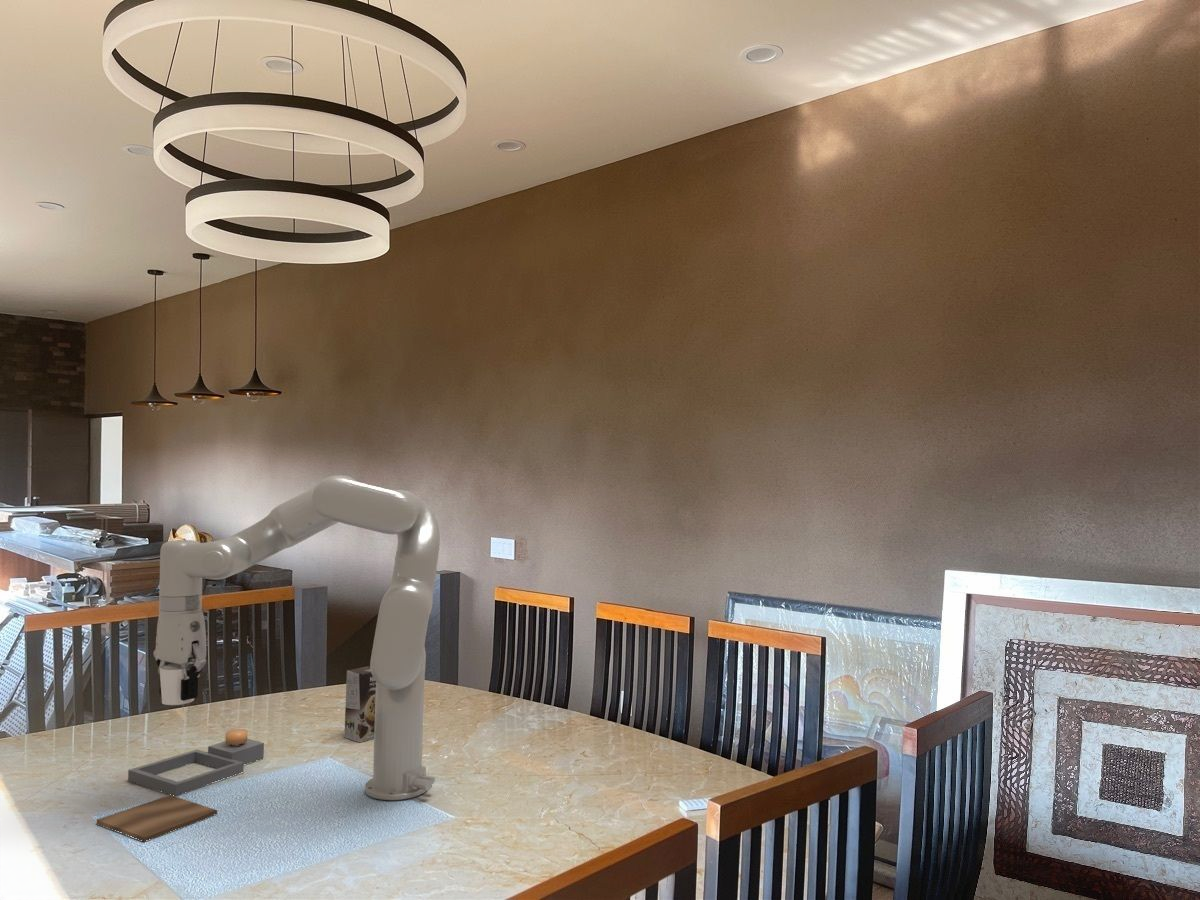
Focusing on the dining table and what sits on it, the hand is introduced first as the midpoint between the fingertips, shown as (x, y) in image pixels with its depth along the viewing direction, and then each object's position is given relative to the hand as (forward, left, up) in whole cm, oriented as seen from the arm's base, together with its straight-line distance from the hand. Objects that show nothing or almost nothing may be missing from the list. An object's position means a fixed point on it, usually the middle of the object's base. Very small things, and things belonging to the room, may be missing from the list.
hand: (178, 695), depth 166 cm
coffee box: (-4, -47, -20) cm, 51 cm away
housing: (+7, -11, -19) cm, 23 cm away
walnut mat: (-8, +9, -19) cm, 23 cm away
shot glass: (0, 0, -1) cm, 1 cm away
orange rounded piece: (+7, -19, -17) cm, 27 cm away
